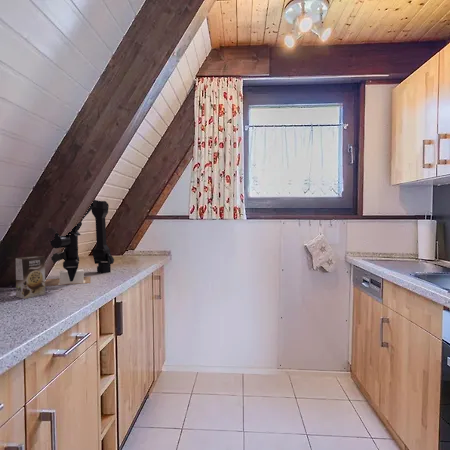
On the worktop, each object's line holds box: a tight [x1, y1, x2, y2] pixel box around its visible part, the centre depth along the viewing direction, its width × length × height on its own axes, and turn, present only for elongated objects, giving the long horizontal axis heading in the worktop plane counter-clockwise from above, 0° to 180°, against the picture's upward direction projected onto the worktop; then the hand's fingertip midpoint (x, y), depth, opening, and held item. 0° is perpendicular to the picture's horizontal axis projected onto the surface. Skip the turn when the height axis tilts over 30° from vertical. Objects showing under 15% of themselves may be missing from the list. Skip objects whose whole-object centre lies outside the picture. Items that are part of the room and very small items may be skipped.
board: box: [45, 276, 92, 287], centre depth 168 cm, size 20×16×2 cm
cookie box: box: [15, 255, 46, 300], centre depth 146 cm, size 9×6×16 cm
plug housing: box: [59, 268, 85, 285], centre depth 164 cm, size 10×5×5 cm, turn 111°
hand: (72, 279), depth 164 cm, fingers open, 9 cm apart
